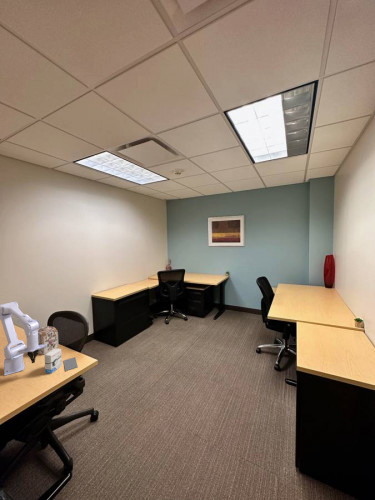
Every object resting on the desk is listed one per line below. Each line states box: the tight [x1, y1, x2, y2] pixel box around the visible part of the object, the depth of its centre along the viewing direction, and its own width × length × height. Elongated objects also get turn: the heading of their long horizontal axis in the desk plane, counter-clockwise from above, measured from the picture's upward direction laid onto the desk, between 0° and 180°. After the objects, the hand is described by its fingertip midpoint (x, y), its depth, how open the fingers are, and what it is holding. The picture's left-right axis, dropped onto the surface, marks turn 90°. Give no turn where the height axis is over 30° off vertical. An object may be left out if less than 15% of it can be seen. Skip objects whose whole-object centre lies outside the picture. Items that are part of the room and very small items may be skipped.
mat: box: [63, 356, 79, 372], centre depth 137 cm, size 7×14×1 cm, turn 35°
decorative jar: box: [37, 325, 59, 356], centre depth 155 cm, size 12×12×18 cm
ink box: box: [44, 348, 63, 374], centre depth 131 cm, size 8×5×12 cm, turn 168°
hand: (33, 362), depth 125 cm, fingers closed
